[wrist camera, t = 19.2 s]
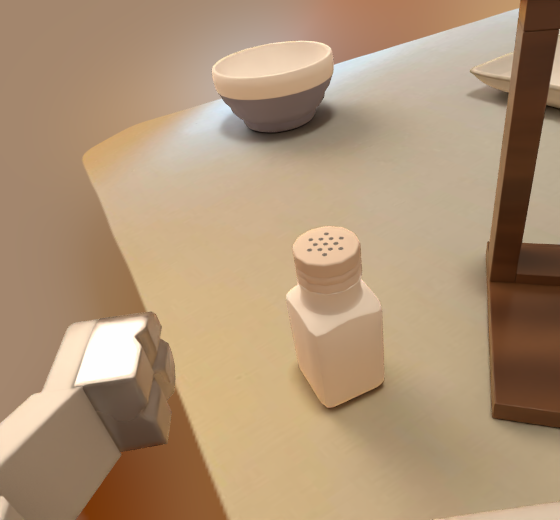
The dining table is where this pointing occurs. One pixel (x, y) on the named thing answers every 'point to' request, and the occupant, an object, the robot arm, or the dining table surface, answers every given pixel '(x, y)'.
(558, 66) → the square plate
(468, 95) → the dining table surface
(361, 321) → the salt shaker
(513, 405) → the window frame
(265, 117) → the bowl
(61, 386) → the robot arm
